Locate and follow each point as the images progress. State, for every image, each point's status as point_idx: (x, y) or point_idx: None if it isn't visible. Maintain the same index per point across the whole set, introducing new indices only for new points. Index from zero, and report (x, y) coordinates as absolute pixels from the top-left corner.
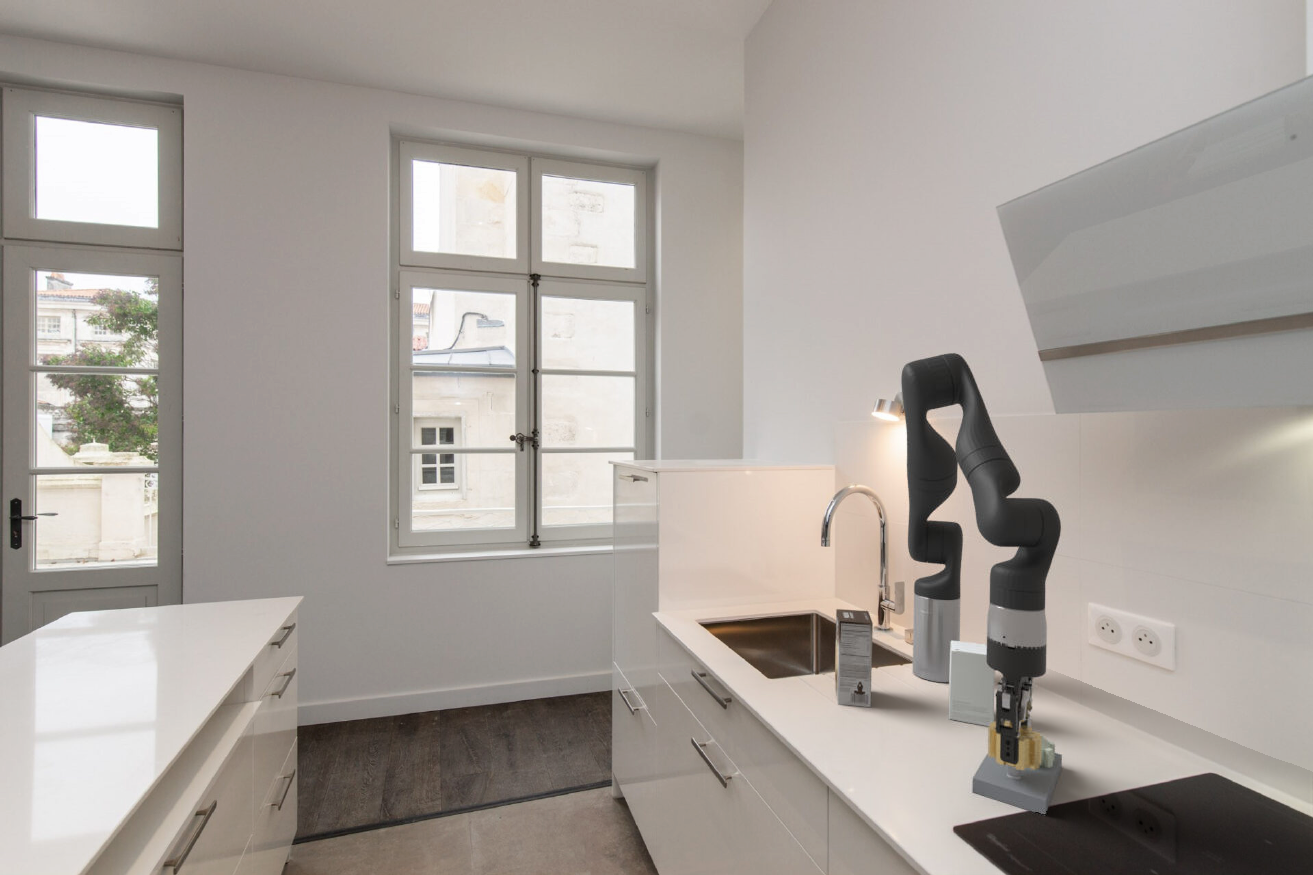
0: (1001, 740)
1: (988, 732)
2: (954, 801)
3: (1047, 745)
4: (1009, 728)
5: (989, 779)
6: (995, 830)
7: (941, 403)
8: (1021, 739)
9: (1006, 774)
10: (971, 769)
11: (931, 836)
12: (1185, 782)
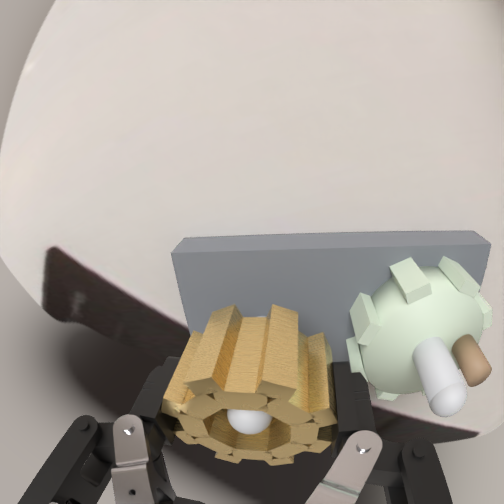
0: (148, 399)
1: (213, 358)
2: (116, 220)
3: (411, 390)
4: (92, 454)
5: (199, 286)
6: (96, 300)
7: None
8: (191, 440)
9: (264, 313)
10: (314, 201)
11: (20, 230)
12: (449, 432)
